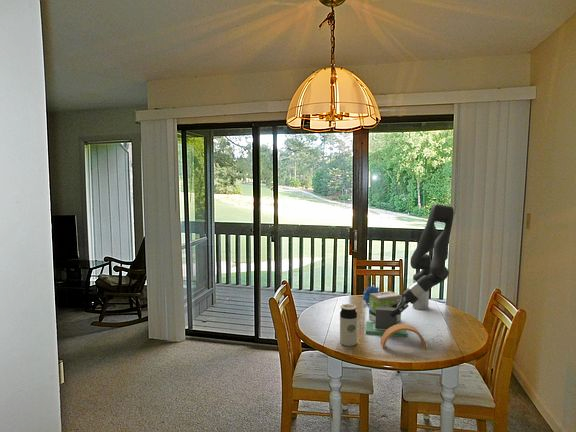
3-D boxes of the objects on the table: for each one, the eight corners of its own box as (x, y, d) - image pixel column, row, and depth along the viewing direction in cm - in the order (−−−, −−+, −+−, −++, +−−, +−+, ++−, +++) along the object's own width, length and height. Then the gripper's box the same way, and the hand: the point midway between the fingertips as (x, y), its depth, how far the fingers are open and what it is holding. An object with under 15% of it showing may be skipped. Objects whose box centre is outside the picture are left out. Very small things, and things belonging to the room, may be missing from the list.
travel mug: (339, 339, 187) (339, 303, 185) (355, 339, 186) (355, 303, 185) (340, 346, 179) (341, 308, 177) (357, 346, 178) (358, 309, 177)
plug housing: (375, 325, 201) (375, 306, 201) (396, 326, 199) (396, 307, 198) (375, 328, 197) (375, 309, 196) (396, 329, 194) (396, 310, 193)
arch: (380, 343, 182) (380, 323, 181) (423, 344, 180) (423, 324, 179) (382, 349, 176) (382, 327, 175) (426, 349, 174) (427, 328, 174)
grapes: (376, 300, 248) (376, 282, 247) (381, 304, 242) (381, 285, 241) (359, 302, 245) (360, 284, 244) (364, 305, 239) (364, 286, 238)
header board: (366, 324, 207) (366, 316, 207) (404, 326, 203) (404, 318, 202) (365, 333, 193) (365, 325, 193) (406, 337, 189) (407, 328, 189)
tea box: (379, 324, 206) (379, 298, 205) (368, 319, 215) (368, 293, 214) (401, 320, 212) (401, 294, 211) (389, 315, 221) (390, 290, 220)
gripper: (408, 283, 201) (385, 303, 204) (410, 291, 187) (385, 312, 190) (418, 294, 200) (395, 313, 203) (421, 302, 186) (396, 323, 190)
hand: (390, 313), depth 197 cm, fingers open, 8 cm apart
